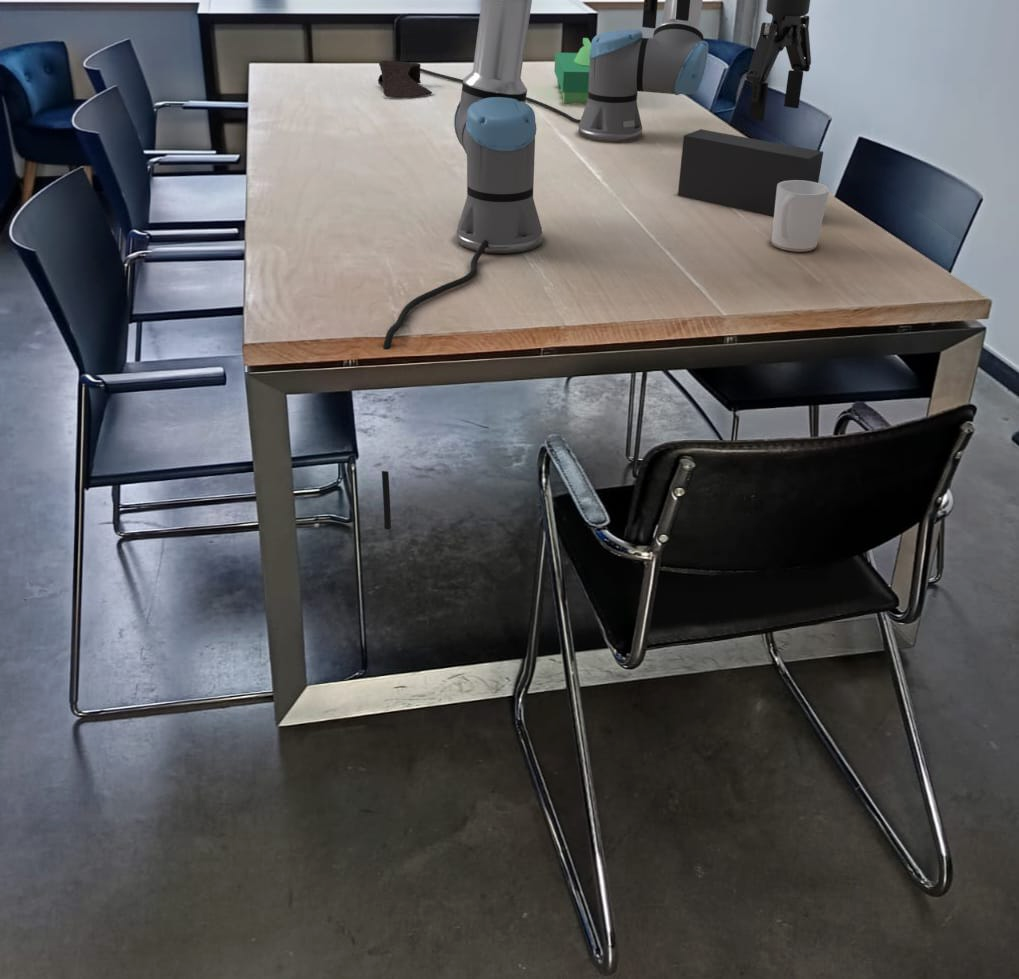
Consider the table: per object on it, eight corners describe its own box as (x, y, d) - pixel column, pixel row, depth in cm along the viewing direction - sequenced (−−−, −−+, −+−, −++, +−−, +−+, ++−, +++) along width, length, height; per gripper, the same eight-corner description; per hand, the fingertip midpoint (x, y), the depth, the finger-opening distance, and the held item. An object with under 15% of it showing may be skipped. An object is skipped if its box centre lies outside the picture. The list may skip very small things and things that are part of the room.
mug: (783, 233, 202) (791, 177, 197) (827, 243, 197) (837, 187, 192) (754, 247, 195) (762, 190, 189) (799, 259, 190) (809, 200, 185)
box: (813, 213, 213) (823, 151, 207) (798, 221, 209) (808, 158, 202) (694, 187, 227) (700, 129, 220) (677, 195, 222) (683, 135, 216)
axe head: (443, 87, 294) (392, 77, 287) (436, 115, 299) (385, 106, 292) (421, 62, 307) (371, 52, 300) (414, 89, 311) (365, 80, 304)
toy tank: (615, 34, 312) (632, 57, 283) (611, 79, 319) (628, 107, 289) (553, 33, 311) (564, 56, 282) (551, 78, 318) (562, 105, 288)
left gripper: (803, -19, 205) (787, 99, 216) (735, -5, 188) (722, 121, 199) (841, -15, 200) (822, 105, 212) (774, -1, 184) (758, 128, 195)
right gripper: (690, -96, 226) (679, 15, 237) (626, -91, 209) (618, 28, 220) (722, -94, 222) (710, 19, 233) (660, -88, 205) (650, 33, 216)
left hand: (773, 113), depth 205 cm, fingers open, 13 cm apart
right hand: (665, 23), depth 227 cm, fingers open, 13 cm apart
